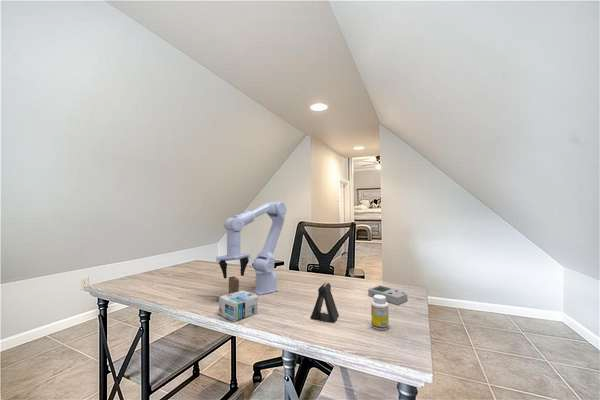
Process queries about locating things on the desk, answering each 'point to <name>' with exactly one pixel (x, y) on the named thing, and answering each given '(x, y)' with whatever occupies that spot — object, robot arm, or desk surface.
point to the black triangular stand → (330, 305)
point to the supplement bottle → (380, 312)
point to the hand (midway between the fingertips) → (233, 276)
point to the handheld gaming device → (388, 294)
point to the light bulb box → (238, 305)
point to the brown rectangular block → (233, 284)
